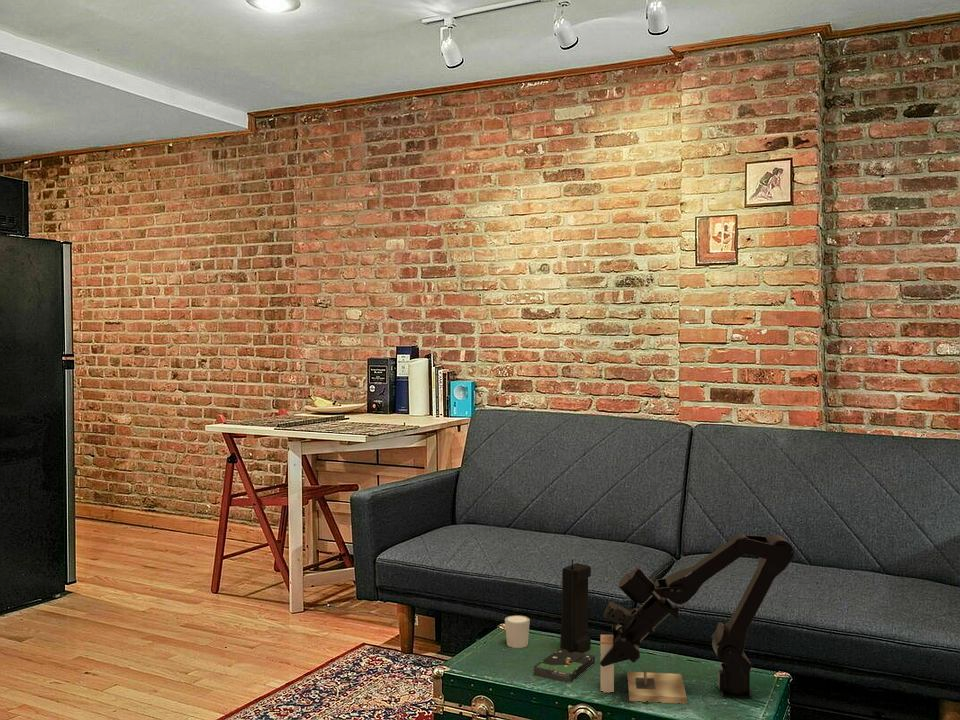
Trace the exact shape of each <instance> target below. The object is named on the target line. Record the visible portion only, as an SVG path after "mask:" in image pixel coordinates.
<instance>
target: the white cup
mask: <svg viewBox="0 0 960 720" xmlns="http://www.w3.org/2000/svg"><path fill="white" fill-rule="evenodd" d="M530 622H531V620H530V618H529V617H528V616H525V615H509V616H506V617H505V618H504V626H505V637H506V645H507V646H508V647H510V648H513V649H521V648H525V647H528V643H529V634H530V633H529V632H530Z"/></svg>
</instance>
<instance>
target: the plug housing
mask: <svg viewBox="0 0 960 720" xmlns="http://www.w3.org/2000/svg"><path fill="white" fill-rule="evenodd" d="M613 637H614V635H612V634H600V653H601V656H600V662H601V661H602V659H603V658H604V657H605V655H606V654H607V653H608V651H609V650H610V649H611V648H612V646H613ZM614 683H615V663H614V664H610V665H607V666H602V665H601V664H600V692H601V691H603V692H602V693H610V692H615V684H614Z"/></svg>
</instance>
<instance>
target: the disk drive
mask: <svg viewBox="0 0 960 720" xmlns="http://www.w3.org/2000/svg"><path fill="white" fill-rule="evenodd" d="M594 663H596V658H595V655H592V654H589V653H585V652H584V653H579V652H572V653H570V652H568V650H565V649H560V648H559V649H557V650H555V652H553V653H551V654H550V655H548V656H547V657H545V658H544V659H542V660H541V661H539V662H538V663H536V664H535V665H534V666H533V676H536V677H540V676H541V677H542V678H546V679H551V680H554V681H558V682H563V681H564V683H567V682H569V683H568V684H571V683H572V682H574V681H575V680H576V679H578V678H579V677H580V676H581V675H582V674H581V673H583V672H584V671H585V670H586V669H587V668H588V667H590V666H591V665H592V664H594ZM594 665H595V664H594ZM590 668H591V667H590ZM586 671H587V670H586ZM586 671H585V672H586ZM585 672H584V673H585ZM584 673H583V674H584ZM580 674H581V675H580ZM579 675H580V676H579ZM578 676H579V677H578ZM577 677H578V678H577ZM574 679H575V680H574ZM573 680H574V681H573ZM570 682H571V683H570Z"/></svg>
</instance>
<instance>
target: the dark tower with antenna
mask: <svg viewBox="0 0 960 720" xmlns="http://www.w3.org/2000/svg"><path fill="white" fill-rule="evenodd" d="M591 569H592V567H591V565H588V564H583V563H579V562H578V563H577V562H575V563H574V559H571V564H570V565H567V566H565V567H563V568H562V571H561V572H562V573H561V575H562V577H561V580H562V582H561V583H562V585H561V589H562V591H561V594H562V595H561V598H562V599H561V600H562V603H561V607H562V608H561V618H560V641H559V649H565V650H568V652H570V653H572V652H579V653H582V652H584V651H586V650H587V651H589V650H591V648H592V647H591V644H592V642H591V639H592V638H591V637H590V635H589V577H591V576H592V570H591ZM588 649H589V650H588ZM587 651H586V652H587ZM584 653H585V652H584Z"/></svg>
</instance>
